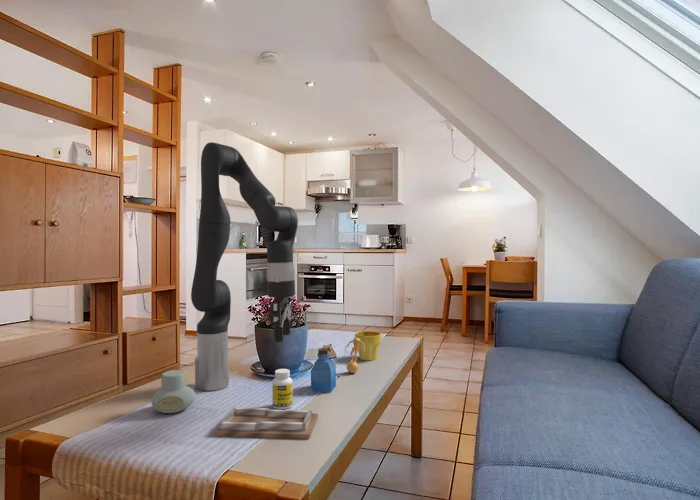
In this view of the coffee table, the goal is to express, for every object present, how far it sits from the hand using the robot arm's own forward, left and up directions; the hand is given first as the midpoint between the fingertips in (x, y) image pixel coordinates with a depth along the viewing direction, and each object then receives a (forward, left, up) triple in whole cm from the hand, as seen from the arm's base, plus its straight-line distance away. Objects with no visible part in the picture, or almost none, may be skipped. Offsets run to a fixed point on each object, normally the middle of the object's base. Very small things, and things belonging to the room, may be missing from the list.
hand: (282, 338), depth 117 cm
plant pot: (+21, +50, -19) cm, 57 cm away
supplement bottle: (0, 0, -19) cm, 19 cm away
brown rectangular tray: (0, -13, -19) cm, 23 cm away
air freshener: (-29, -4, -19) cm, 35 cm away
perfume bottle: (+9, +15, -19) cm, 25 cm away
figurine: (+17, +32, -19) cm, 40 cm away
